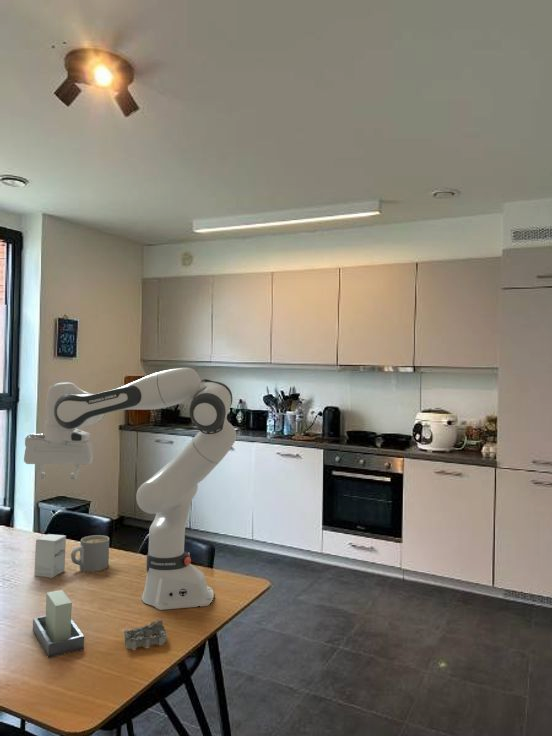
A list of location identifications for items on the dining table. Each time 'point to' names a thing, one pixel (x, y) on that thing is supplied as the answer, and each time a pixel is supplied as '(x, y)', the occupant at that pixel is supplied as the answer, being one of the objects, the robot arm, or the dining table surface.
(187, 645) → the dining table surface
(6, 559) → the dining table surface
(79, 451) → the robot arm
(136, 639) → the egg carton
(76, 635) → the grey rectangular tray
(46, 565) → the supplement box
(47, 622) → the sage green slab
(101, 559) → the coffee mug
